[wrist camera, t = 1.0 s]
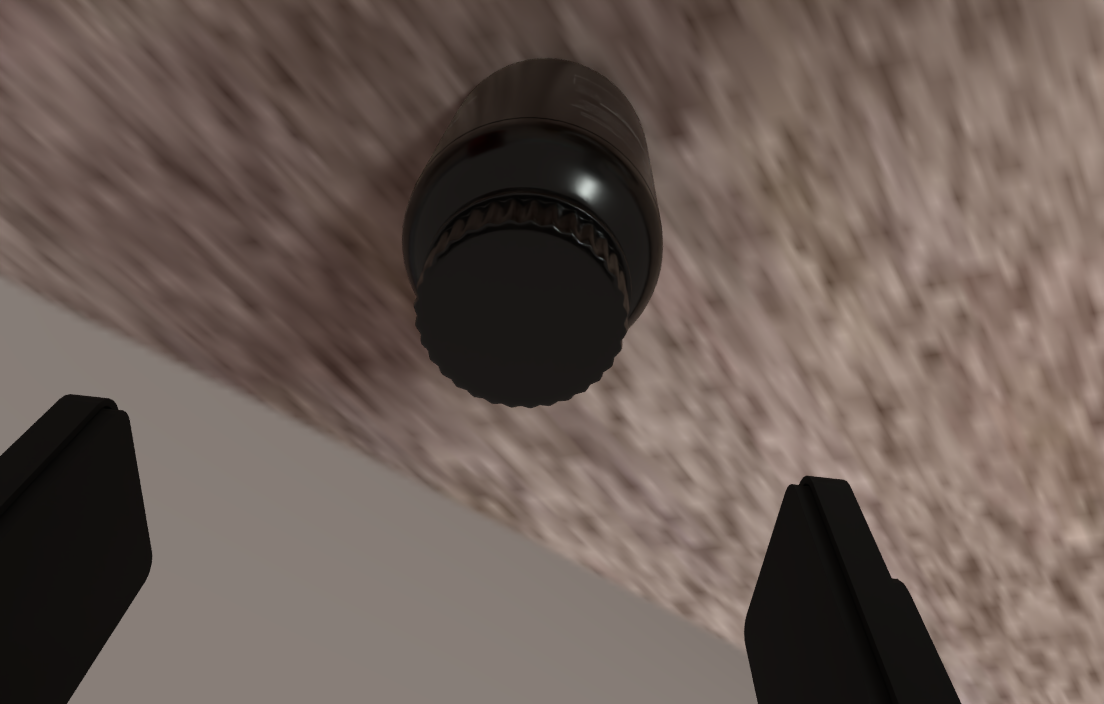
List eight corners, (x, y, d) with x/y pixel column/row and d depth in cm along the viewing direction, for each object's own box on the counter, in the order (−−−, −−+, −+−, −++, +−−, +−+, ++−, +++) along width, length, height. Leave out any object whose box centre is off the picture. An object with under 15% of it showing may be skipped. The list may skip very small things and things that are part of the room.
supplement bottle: (423, 81, 27) (319, 201, 17) (626, 32, 26) (649, 129, 16) (479, 267, 31) (421, 465, 20) (661, 230, 30) (700, 418, 19)
